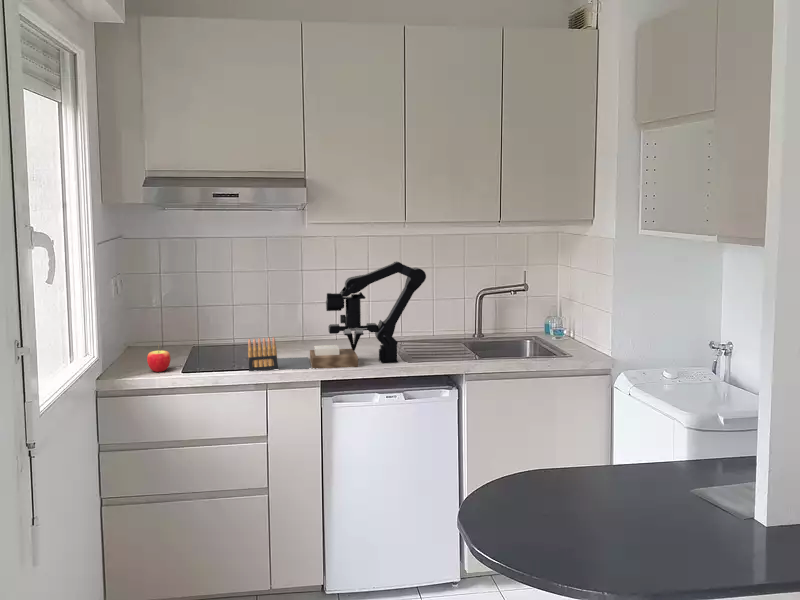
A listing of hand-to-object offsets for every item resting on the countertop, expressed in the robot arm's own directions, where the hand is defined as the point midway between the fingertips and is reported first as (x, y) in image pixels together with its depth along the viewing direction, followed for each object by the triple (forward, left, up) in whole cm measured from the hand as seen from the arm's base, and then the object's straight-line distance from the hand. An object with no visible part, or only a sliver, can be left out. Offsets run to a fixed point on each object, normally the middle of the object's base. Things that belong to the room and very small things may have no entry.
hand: (353, 350), depth 315 cm
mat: (+24, -2, -5) cm, 24 cm away
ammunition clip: (+34, +7, -5) cm, 35 cm away
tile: (+10, 0, -1) cm, 10 cm away
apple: (+72, +2, -5) cm, 73 cm away
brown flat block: (+8, 0, -5) cm, 9 cm away
